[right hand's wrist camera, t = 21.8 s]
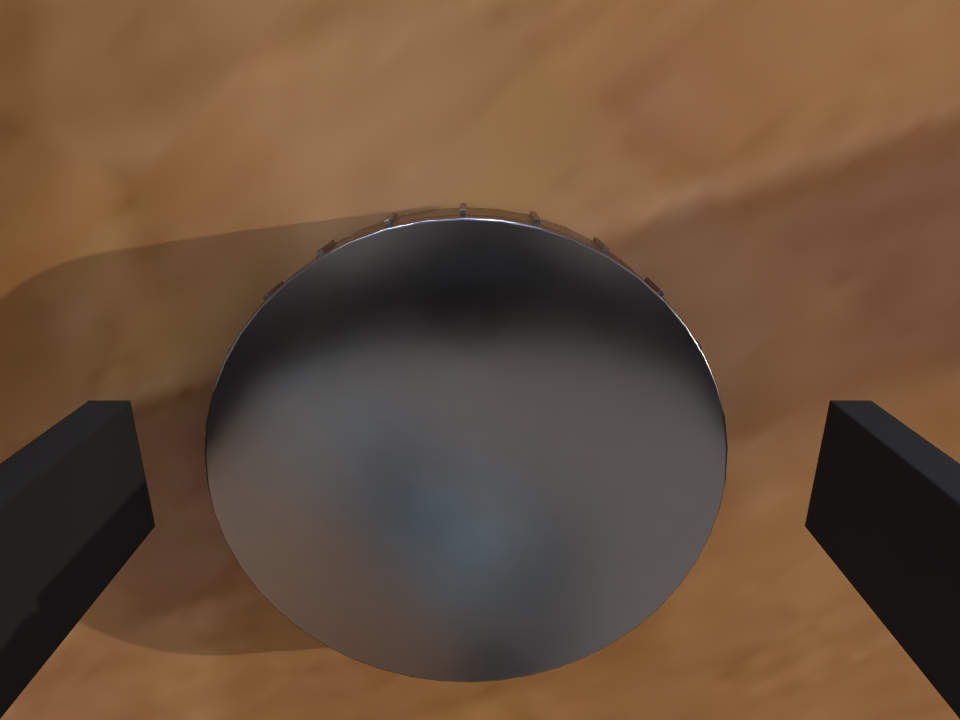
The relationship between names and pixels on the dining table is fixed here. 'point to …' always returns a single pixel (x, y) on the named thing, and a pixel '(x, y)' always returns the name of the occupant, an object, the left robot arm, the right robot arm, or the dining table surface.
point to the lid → (466, 446)
